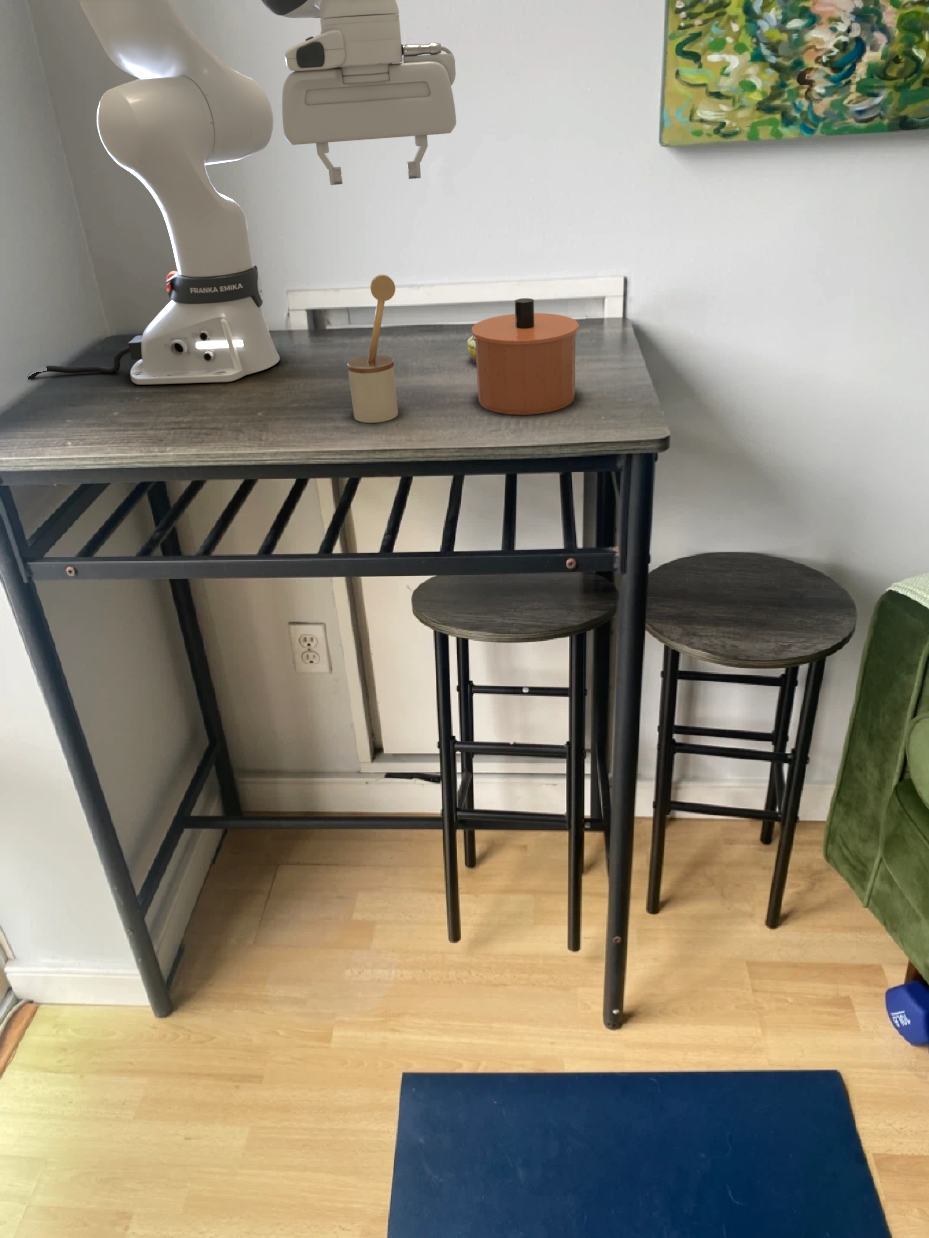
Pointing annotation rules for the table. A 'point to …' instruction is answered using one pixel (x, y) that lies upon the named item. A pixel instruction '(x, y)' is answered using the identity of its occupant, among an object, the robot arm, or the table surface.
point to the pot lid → (525, 326)
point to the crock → (374, 368)
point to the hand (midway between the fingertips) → (375, 181)
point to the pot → (526, 376)
